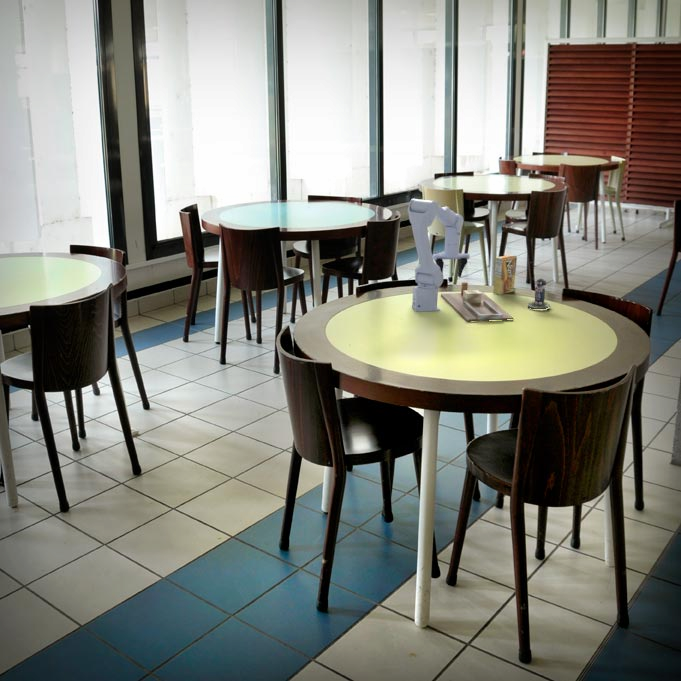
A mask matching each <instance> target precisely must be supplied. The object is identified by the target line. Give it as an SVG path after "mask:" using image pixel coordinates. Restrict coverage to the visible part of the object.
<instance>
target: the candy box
mask: <svg viewBox="0 0 681 681" xmlns="http://www.w3.org/2000/svg"><path fill="white" fill-rule="evenodd" d="M517 259H518V257H517V256H516V255H512V254H506V255H503V256H501V255H500V256H496V257H495V266H494V276H493V277H494V281H493V291H492V293H493V294H497V295H500V296H501V295H504V294H509V293H512V292H514V291H515V282H516V281H515V280H516V272H517V271H516V270H517ZM509 288H514V289H509ZM513 290H514V291H513Z"/></svg>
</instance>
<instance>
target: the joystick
mask: <svg viewBox="0 0 681 681" xmlns="http://www.w3.org/2000/svg"><path fill="white" fill-rule="evenodd" d="M468 284H469V283H468V282H466V281H463V282H461V288H460V289H461V290H460V293H461V295H463V301H467V302H468V303H469V304H471V303H481V296H482V293H483V292H481V291H479V290H478V289H473V290H472V289H471V290H470V289H469V290H468Z"/></svg>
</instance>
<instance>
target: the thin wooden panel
mask: <svg viewBox="0 0 681 681" xmlns="http://www.w3.org/2000/svg"><path fill="white" fill-rule="evenodd" d="M481 293H482V296H481V303H471V304H469V303H468V302H467V301H463V295H461V292H459V293H458V292H457V293H453V292H451V293H440V298H442V299H443V300H444V301H445V302H446V303H447V304H448V305H449V306H450V307H451V309H453V310H454V311H455V312H456V313H457V314H458V315H459V317H461V318H462V319H463V320H464V321H465V322H466V323H472V322H471V321H484V322H490V321H489V320H507V319H513V320H514V317H513V315H511V314H509V313H508V312H507V311H506V310H505V309H503V308H502V307H501V306H500V305H499V304H498V303H497V302H495V301H494V300H492V298H490V297H489V296H488V295H487V294H485V293H484V292H481Z"/></svg>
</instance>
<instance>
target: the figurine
mask: <svg viewBox="0 0 681 681" xmlns="http://www.w3.org/2000/svg"><path fill="white" fill-rule="evenodd" d="M546 285H547V281H546V280H545V279H543V278H539V279H537V280H536V284H535V290H534V292H535V293H534V301H532V302H529V303H528V304H527V309H529V308H531V309H546V308H548V307H550V308H551V304H550V303H548V302H547V301H545V298H546ZM531 309H530V310H531Z"/></svg>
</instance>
